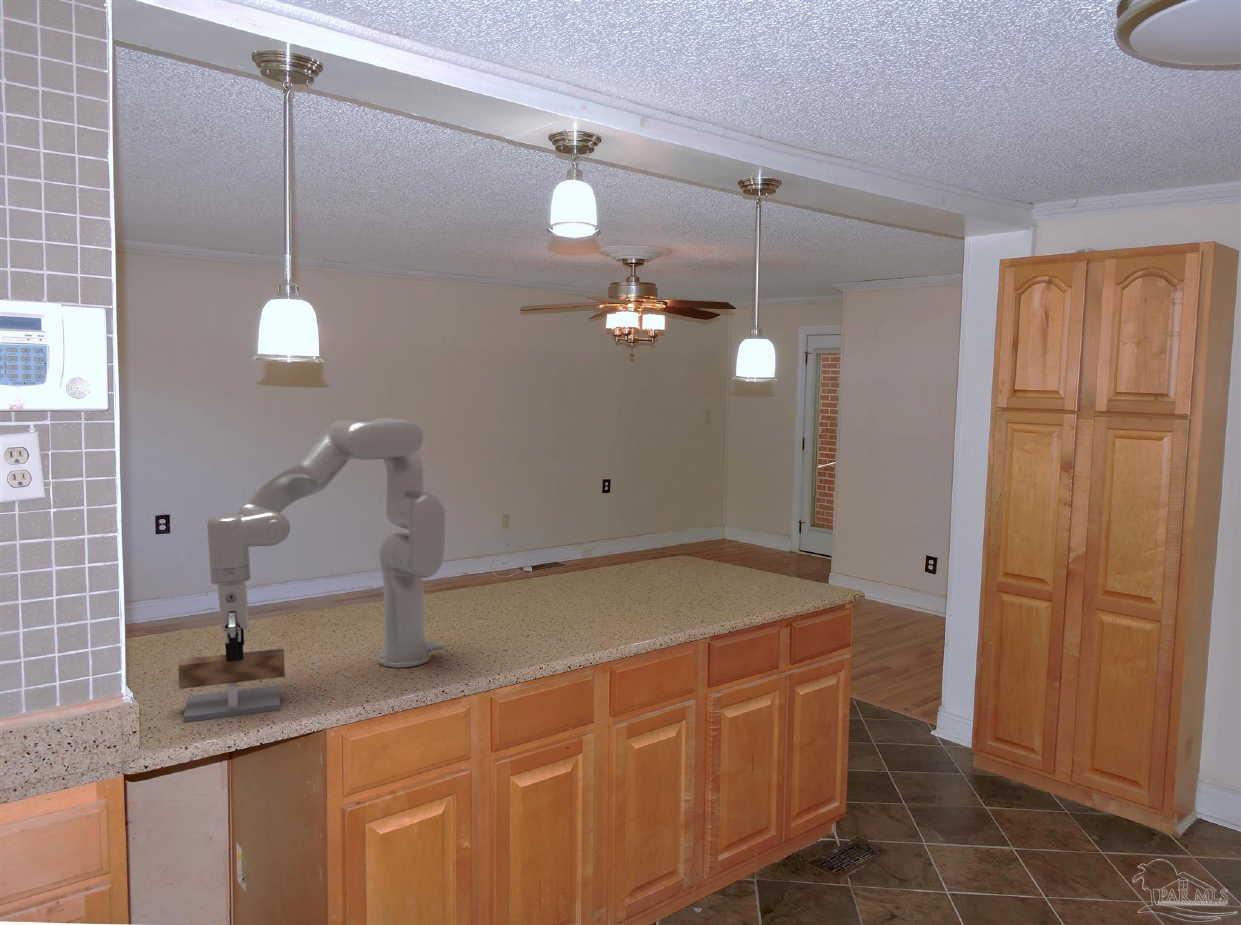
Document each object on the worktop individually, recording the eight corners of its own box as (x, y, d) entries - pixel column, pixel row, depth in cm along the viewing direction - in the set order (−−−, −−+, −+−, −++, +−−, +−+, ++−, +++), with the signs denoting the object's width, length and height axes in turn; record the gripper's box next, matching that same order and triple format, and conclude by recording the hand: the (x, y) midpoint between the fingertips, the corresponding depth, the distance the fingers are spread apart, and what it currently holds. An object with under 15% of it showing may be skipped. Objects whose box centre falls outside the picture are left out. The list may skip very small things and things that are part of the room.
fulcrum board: (279, 690, 188) (278, 665, 187) (280, 709, 177) (279, 683, 176) (188, 701, 181) (187, 675, 180) (183, 722, 170) (182, 695, 169)
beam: (284, 670, 184) (283, 648, 184) (284, 676, 180) (284, 653, 180) (181, 682, 176) (180, 659, 176) (179, 688, 173) (178, 665, 172)
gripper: (249, 581, 170) (254, 663, 172) (250, 562, 185) (255, 638, 187) (208, 585, 167) (214, 669, 169) (212, 566, 183) (217, 643, 185)
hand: (235, 653), depth 178 cm, fingers open, 9 cm apart
